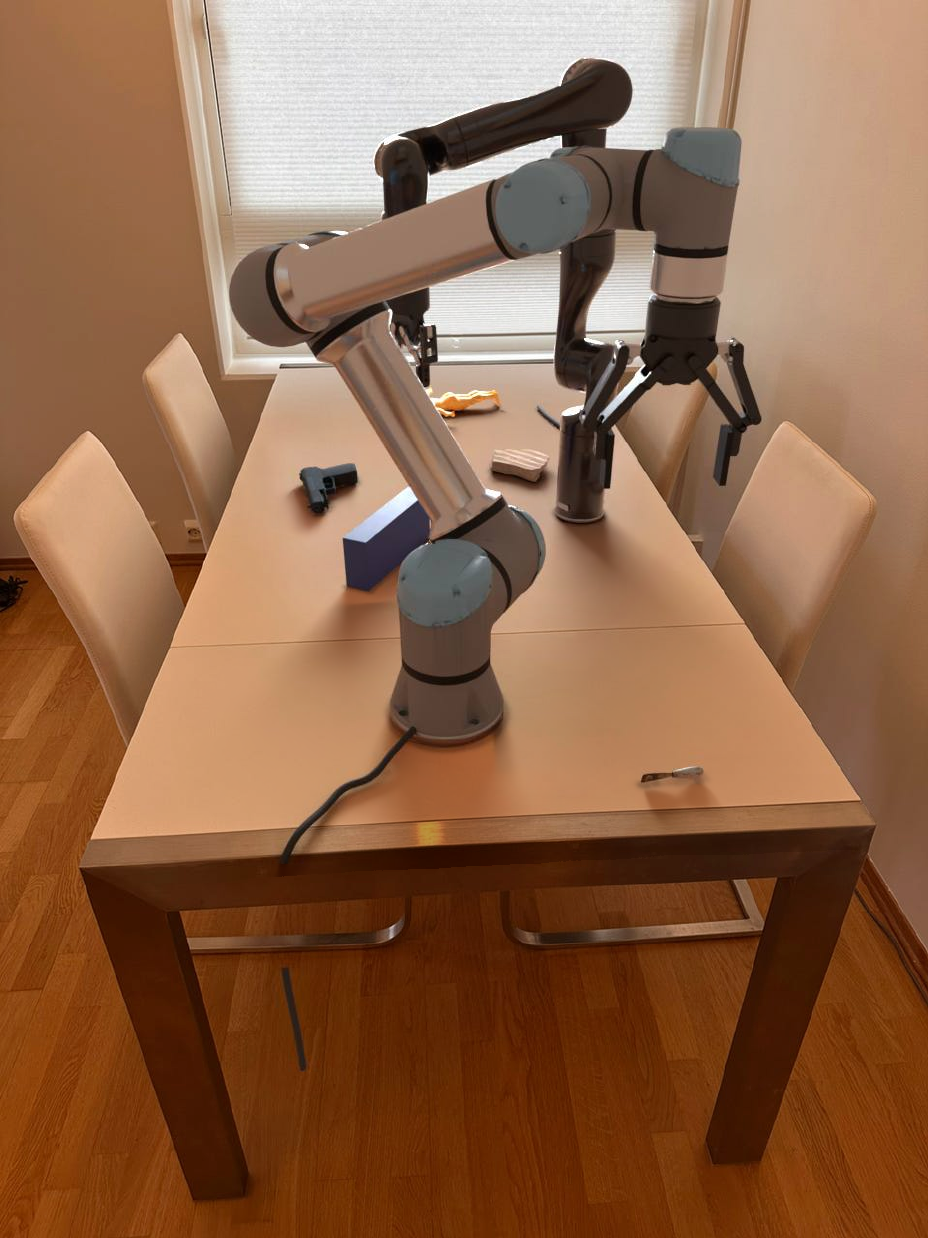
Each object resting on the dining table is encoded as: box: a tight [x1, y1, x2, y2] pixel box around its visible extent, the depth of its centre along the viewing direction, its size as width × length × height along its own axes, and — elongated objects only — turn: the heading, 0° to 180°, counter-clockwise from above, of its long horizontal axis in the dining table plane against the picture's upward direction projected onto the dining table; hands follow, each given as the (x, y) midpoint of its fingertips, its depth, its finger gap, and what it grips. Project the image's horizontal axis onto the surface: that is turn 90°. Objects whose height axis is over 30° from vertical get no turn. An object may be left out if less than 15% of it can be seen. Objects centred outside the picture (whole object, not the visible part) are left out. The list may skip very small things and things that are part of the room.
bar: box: [342, 486, 431, 593], centre depth 156 cm, size 23×4×9 cm, turn 155°
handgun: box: [298, 462, 359, 515], centre depth 181 cm, size 3×18×12 cm
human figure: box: [425, 385, 500, 418], centre depth 225 cm, size 20×20×4 cm
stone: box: [489, 448, 550, 483], centre depth 192 cm, size 13×12×2 cm
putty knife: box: [640, 765, 705, 784], centre depth 109 cm, size 1×8×2 cm, turn 103°
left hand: (662, 483), depth 105 cm, fingers open, 13 cm apart
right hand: (409, 380), depth 150 cm, fingers open, 8 cm apart
